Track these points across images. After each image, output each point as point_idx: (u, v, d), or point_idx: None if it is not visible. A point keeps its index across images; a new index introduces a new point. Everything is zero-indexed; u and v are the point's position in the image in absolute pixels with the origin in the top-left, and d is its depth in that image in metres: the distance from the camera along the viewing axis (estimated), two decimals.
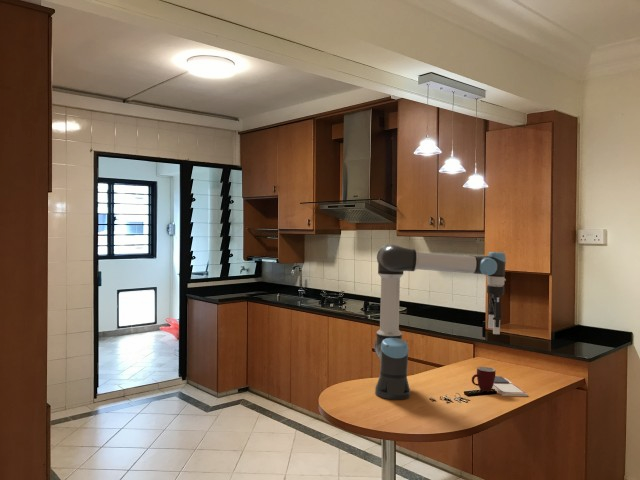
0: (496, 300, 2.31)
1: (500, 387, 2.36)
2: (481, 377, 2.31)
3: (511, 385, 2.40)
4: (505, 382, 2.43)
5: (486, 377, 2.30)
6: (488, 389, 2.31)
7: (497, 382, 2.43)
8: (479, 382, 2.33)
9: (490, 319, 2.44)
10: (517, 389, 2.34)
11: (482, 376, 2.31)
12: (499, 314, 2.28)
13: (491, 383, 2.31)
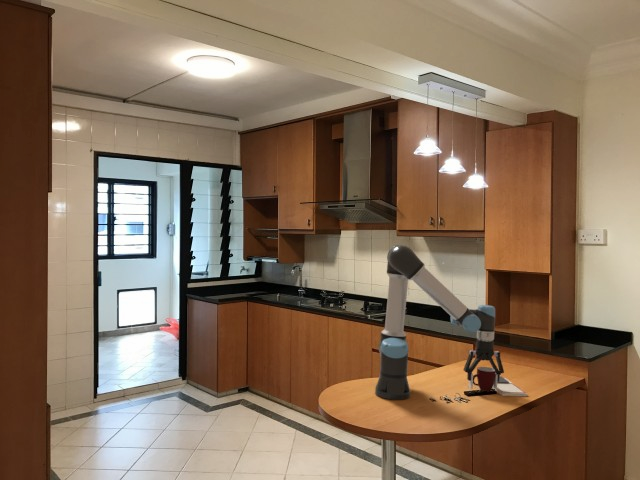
0: (469, 353, 2.34)
1: (500, 387, 2.36)
2: (481, 377, 2.31)
3: (511, 385, 2.40)
4: (505, 382, 2.43)
5: (486, 377, 2.30)
6: (488, 389, 2.31)
7: (497, 382, 2.43)
8: (479, 382, 2.33)
9: None
10: (517, 389, 2.34)
11: (482, 376, 2.31)
12: (465, 367, 2.32)
13: (491, 383, 2.31)
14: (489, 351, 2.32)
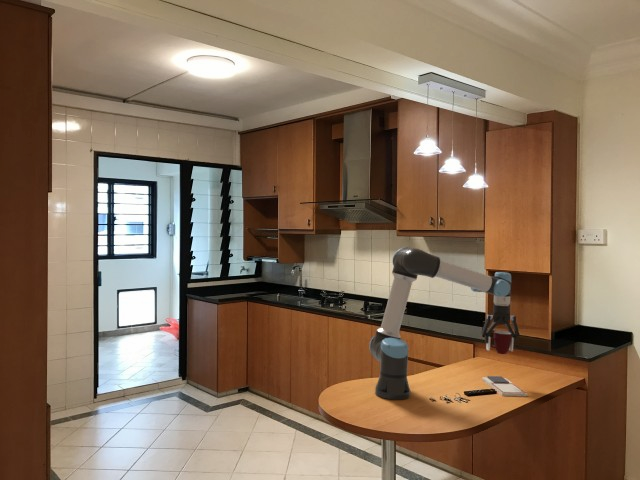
0: (486, 317, 2.47)
1: (500, 387, 2.36)
2: (498, 340, 2.44)
3: (511, 385, 2.40)
4: (505, 382, 2.43)
5: (503, 339, 2.43)
6: (505, 351, 2.44)
7: (497, 382, 2.43)
8: (496, 345, 2.46)
9: None
10: (517, 389, 2.34)
11: (499, 339, 2.44)
12: (483, 330, 2.46)
13: (507, 345, 2.44)
14: (505, 315, 2.45)
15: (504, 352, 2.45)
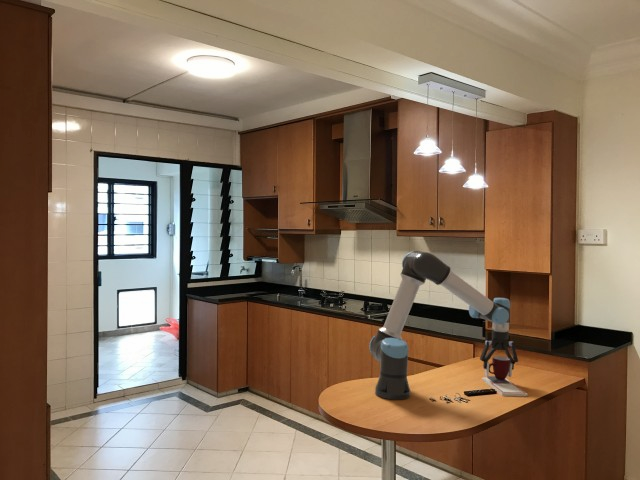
0: (485, 343, 2.47)
1: (500, 387, 2.36)
2: (497, 366, 2.45)
3: (511, 385, 2.40)
4: (505, 382, 2.43)
5: (501, 365, 2.43)
6: (503, 377, 2.45)
7: (497, 382, 2.43)
8: (495, 370, 2.46)
9: None
10: (517, 389, 2.34)
11: (498, 365, 2.44)
12: (482, 356, 2.46)
13: (506, 371, 2.44)
14: (504, 341, 2.46)
15: (503, 378, 2.45)
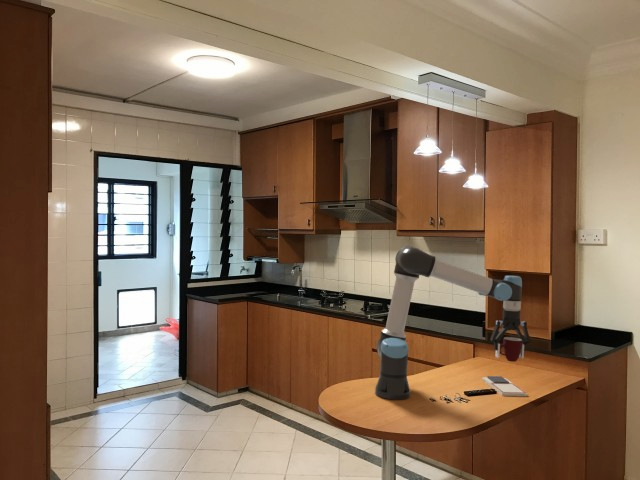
0: (495, 323, 2.35)
1: (500, 387, 2.36)
2: (508, 347, 2.33)
3: (511, 385, 2.40)
4: (505, 382, 2.43)
5: (513, 346, 2.32)
6: (515, 358, 2.33)
7: (497, 382, 2.43)
8: (506, 352, 2.34)
9: None
10: (517, 389, 2.34)
11: (509, 345, 2.33)
12: (492, 337, 2.34)
13: (518, 352, 2.33)
14: (516, 321, 2.34)
15: (514, 359, 2.33)
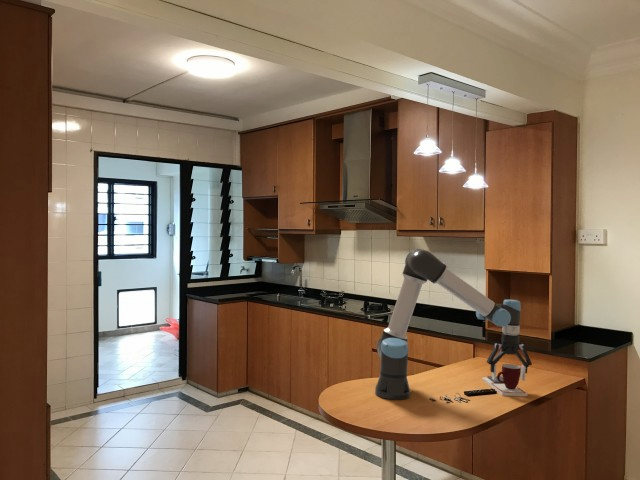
0: (494, 346, 2.36)
1: (500, 387, 2.36)
2: (507, 374, 2.33)
3: None
4: None
5: (512, 374, 2.32)
6: (514, 386, 2.33)
7: (497, 382, 2.43)
8: (504, 379, 2.35)
9: (521, 370, 2.36)
10: (517, 389, 2.34)
11: (508, 373, 2.33)
12: (489, 359, 2.34)
13: (517, 380, 2.33)
14: (514, 345, 2.34)
15: (513, 387, 2.34)
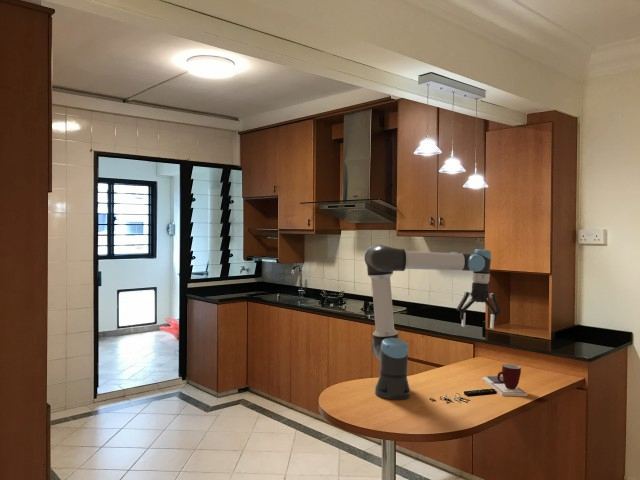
0: (464, 294, 2.41)
1: (500, 387, 2.36)
2: (507, 374, 2.33)
3: None
4: None
5: (512, 374, 2.32)
6: (514, 386, 2.33)
7: (497, 382, 2.43)
8: (505, 379, 2.35)
9: (491, 318, 2.42)
10: (517, 389, 2.34)
11: (508, 373, 2.33)
12: (459, 306, 2.40)
13: (517, 380, 2.33)
14: (484, 294, 2.40)
15: (513, 387, 2.34)
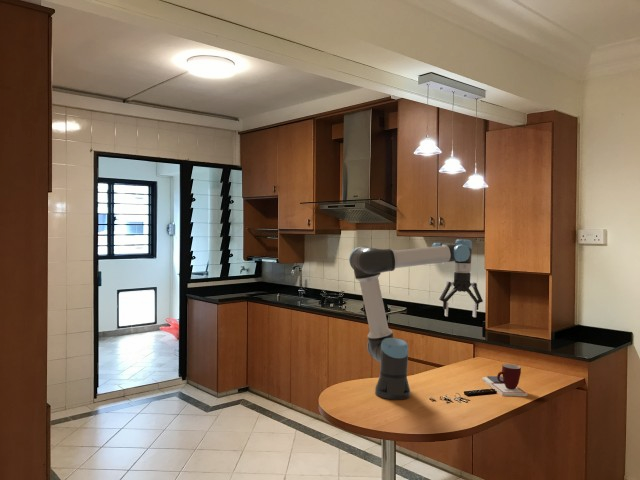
0: (447, 284, 2.44)
1: (500, 387, 2.36)
2: (507, 374, 2.33)
3: None
4: None
5: (512, 374, 2.32)
6: (514, 386, 2.33)
7: (497, 382, 2.43)
8: (505, 379, 2.35)
9: (473, 307, 2.45)
10: (517, 389, 2.34)
11: (508, 373, 2.33)
12: (441, 296, 2.43)
13: (517, 380, 2.33)
14: (466, 283, 2.43)
15: (513, 387, 2.34)
